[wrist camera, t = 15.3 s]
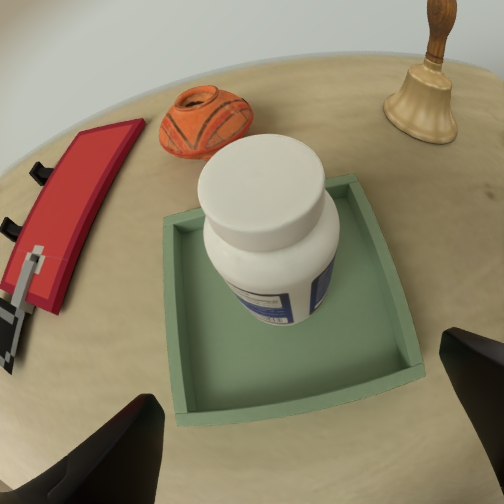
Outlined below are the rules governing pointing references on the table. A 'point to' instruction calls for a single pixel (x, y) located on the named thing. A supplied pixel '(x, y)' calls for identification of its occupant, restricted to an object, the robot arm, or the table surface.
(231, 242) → the pill bottle
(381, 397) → the table surface
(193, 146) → the pot
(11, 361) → the red board with handle
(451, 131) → the hand bell
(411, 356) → the tray
